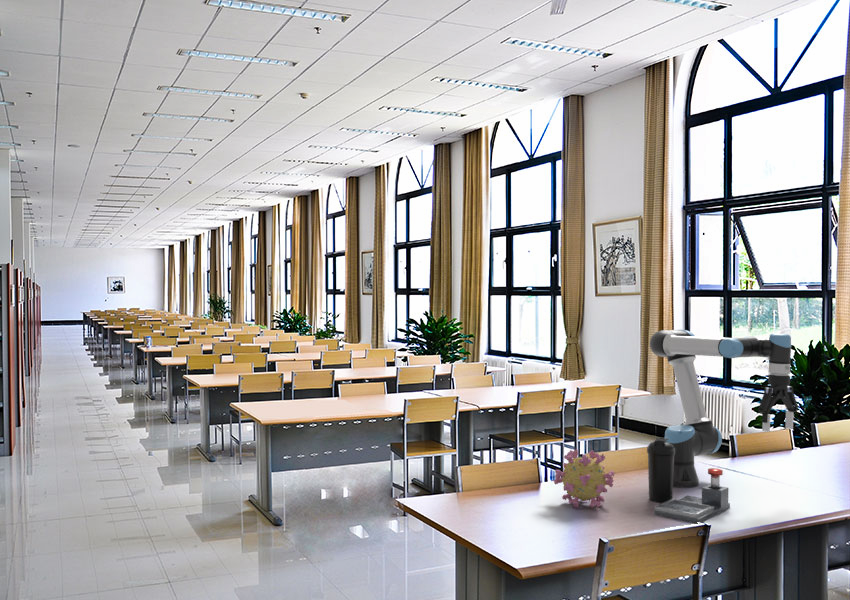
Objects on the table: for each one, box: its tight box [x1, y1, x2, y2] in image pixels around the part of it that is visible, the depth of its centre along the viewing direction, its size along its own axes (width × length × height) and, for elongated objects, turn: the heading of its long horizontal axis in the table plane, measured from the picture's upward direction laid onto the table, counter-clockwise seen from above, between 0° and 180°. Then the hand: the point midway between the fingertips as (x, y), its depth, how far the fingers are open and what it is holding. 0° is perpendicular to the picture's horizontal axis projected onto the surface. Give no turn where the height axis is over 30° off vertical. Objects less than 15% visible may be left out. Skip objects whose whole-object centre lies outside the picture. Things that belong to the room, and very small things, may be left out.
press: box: [653, 483, 731, 524], centre depth 275 cm, size 16×28×8 cm, turn 138°
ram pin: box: [707, 467, 724, 490], centre depth 279 cm, size 5×5×8 cm
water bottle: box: [646, 437, 675, 504], centre depth 289 cm, size 10×10×23 cm
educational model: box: [552, 448, 616, 509], centre depth 281 cm, size 23×22×20 cm
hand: (777, 429), depth 292 cm, fingers open, 13 cm apart
